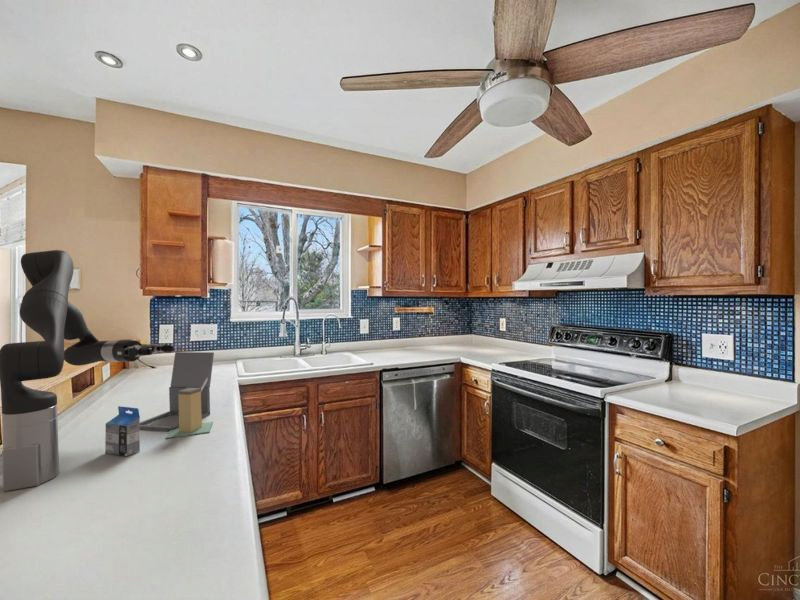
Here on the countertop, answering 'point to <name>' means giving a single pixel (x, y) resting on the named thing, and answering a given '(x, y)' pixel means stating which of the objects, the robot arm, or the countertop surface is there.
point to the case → (187, 383)
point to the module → (189, 409)
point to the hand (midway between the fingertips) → (162, 349)
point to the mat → (204, 429)
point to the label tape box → (123, 432)
